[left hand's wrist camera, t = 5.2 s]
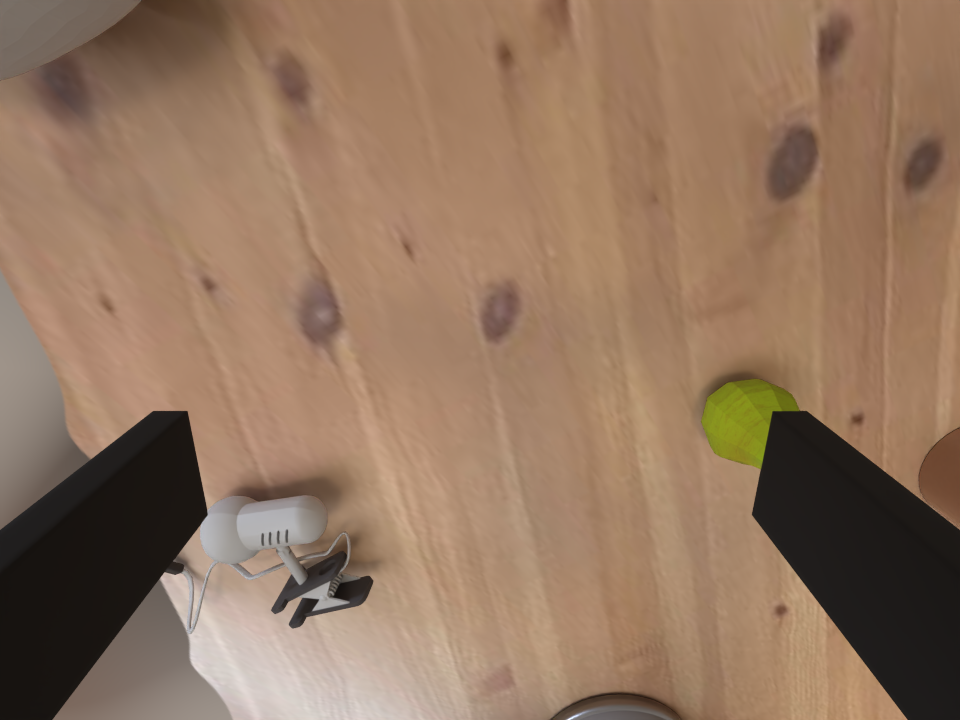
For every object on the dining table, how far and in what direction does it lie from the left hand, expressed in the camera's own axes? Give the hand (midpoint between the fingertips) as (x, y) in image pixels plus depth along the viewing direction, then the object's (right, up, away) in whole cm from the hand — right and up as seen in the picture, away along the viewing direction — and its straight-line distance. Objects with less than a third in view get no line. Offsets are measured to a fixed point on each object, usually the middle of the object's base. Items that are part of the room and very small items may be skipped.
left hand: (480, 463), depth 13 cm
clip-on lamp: (-19, -13, +35) cm, 41 cm away
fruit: (+19, -1, +30) cm, 36 cm away
